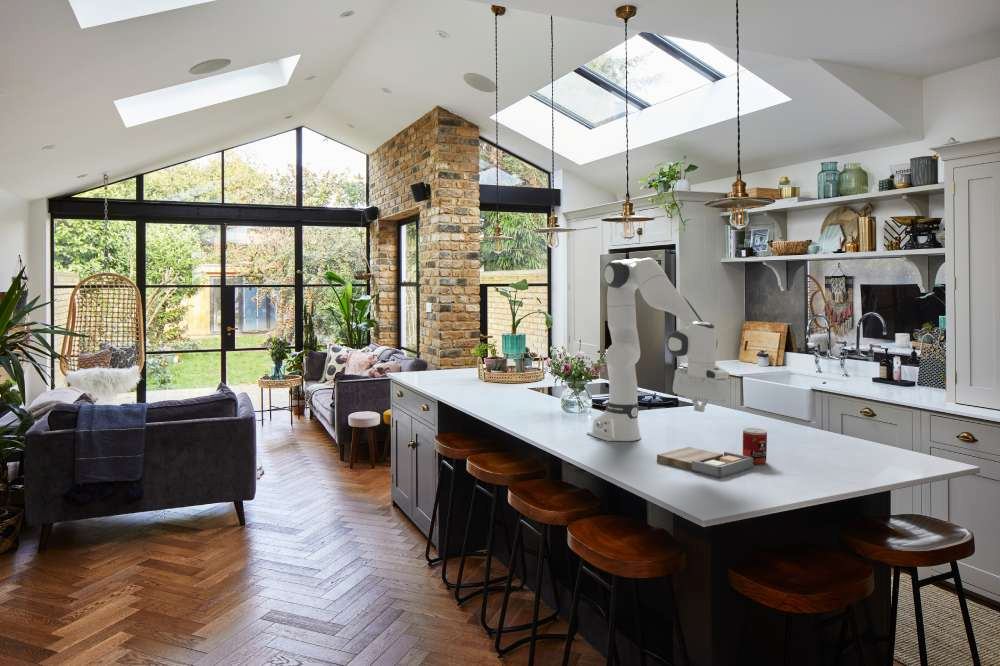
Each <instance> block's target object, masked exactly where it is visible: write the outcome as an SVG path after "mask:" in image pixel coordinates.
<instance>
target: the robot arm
mask: <svg viewBox="0 0 1000 666" xmlns="http://www.w3.org/2000/svg"><path fill="white" fill-rule="evenodd" d="M603 278H604V279H603V280H604V282H605V284H606V285H607V294H606V306H607V307H606V308H607V309H606V310H607V313H606V314H607V327H608V330H609V334H610V338H611V339H610V340H611V344H610V345H609V346H608V348H607V350H606V353H605V360H606V367H607V368H606V369H607V375H608V385H609V388H608V390H609V392H608V393H609V394H608V395H609V396H608V398H609V400H608V401H609V402H605V403H604V404H603V406H604V407H606V408H605V411H603V412H602V413H601V414H600V415H599V416H597V417H595V418H594V419H593V423H592V429H589V430H587V431H586V435H589V436H592V437H596V438H598V439H601V440H604V441H608V442H612V441H613V442H614V441H615V442H616V441H617V442H632V441H638V440H640V439H641V438H642V436H641V432H640V427H639V426H640V425H639V418H638V415H639V402H638V380H637V373H636V372H637V371H636V364H637V363H638V362H639V360H640V358H641V346H640V339H639V332H638V327H637V313H636V312H637V311H636V310H637V309H636V296H635V295H636V290H637V289H638V290H639V293H640V295H641V296H642V299H643V300H644V301H645V303H646V304H647V305H648V306H650V307H651V308H654V309H657V310H660V311H665V312H667V313H670V314H671V315H674V316H675V317H677V318H678V319H679V320H680V321H681V322H682V324H683V325H684V328H680V329H677V330H673V331H671V332H670V333H669V335H668V337H667V339H666V347H667V350H668V352H669V353H670V355H671V356H673V357H675V358H687V359H688V360H687V367H678V368H676V369H675V370H674V379H673V382H672V383H673V384H672V392H673V394H675V395H679V396H686V397H691V403H692V404H693V411H695V412H699V413H704V412H705V411H706V410H705V407H706V406H707V404H708V403H709V401H712V402H719V403H725V402H728V401H729V399H730V393H731V388H730V387H731V386H730V381H729V380H728V378H729V377H730V372H729V371H727V370H726V369H724V368H721V367H719V366H718V365H716V363H717V362H716V361H717V360H716V358H715V357H716V356H715V355H716V351H717V349H718V344H719V343H718V338H717V337H718V336H717V330H716V326H715V324H713V323H711V322H708V321H703V320H702V318H701V317H700V315H699V314H698V313H697V311H696V310H695V308H694V307H693V306H692V304H691V303H690V302H689V299H687V298H686V297H685V296H684V295H682V293H681V292H679V291H678V290H677V288H676V287H675V286H674V285H673V283H672V281H670V279H669V278H668V275H667V274H666V272H665V271H664V269H663V268H662V265H660V264H659V262H657V261H656V260H655V258H652V257H646V258H629V259H627V258H626V259H620V260H617V259H616V260H612V261H610V262H609V261H608V263H607V264H606V265H605V267H604V270H603ZM699 400H700V402H701V404H700V405H699V402H698V401H699Z"/></svg>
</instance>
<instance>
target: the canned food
mask: <svg viewBox="0 0 1000 666" xmlns="http://www.w3.org/2000/svg"><path fill="white" fill-rule="evenodd" d="M767 443H768V431H767V430H765V429H762V428H757V427H756V428H755V427H747V428H743V430H742V455H743V456H748V457H753V466H754V465H755V466H760V465H765V464H766V463H767V449H768V447H767V446H768V445H767Z"/></svg>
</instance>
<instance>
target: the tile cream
mask: <svg viewBox="0 0 1000 666" xmlns="http://www.w3.org/2000/svg"><path fill="white" fill-rule="evenodd" d="M704 463H707V464H711V465H715V466H722V465H726V463H725V462H720V461H716V460H710V461H707V462H704Z"/></svg>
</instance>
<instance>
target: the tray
mask: <svg viewBox="0 0 1000 666" xmlns="http://www.w3.org/2000/svg"><path fill="white" fill-rule="evenodd" d="M728 455H729V456H733V457H738V458H742V460H739V461H736V462H732V463H729V464H726V465H722V466H715V465H711V464H707V463H703V462H699V461H695V460H692V471H691V472H694V473H698V474H702V475H705V476H710V477H714V478H718V479H722V478H725V477H728V476H731V475H736V474H738V473H741V472H743V471H747V470H750V469H753V468H754V464H753V457H748V456H743V454H738V453H733V452H730V451H724V452H723V457H724V456H728Z"/></svg>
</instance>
